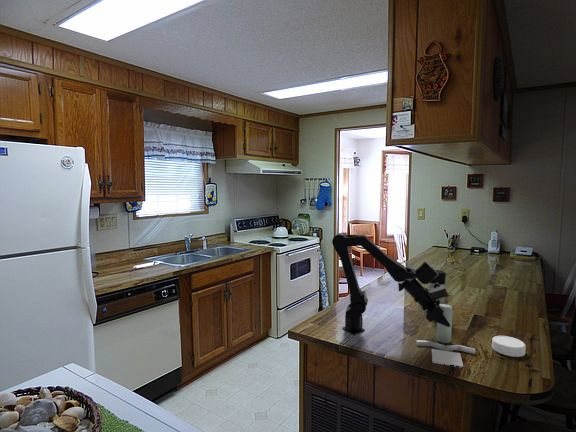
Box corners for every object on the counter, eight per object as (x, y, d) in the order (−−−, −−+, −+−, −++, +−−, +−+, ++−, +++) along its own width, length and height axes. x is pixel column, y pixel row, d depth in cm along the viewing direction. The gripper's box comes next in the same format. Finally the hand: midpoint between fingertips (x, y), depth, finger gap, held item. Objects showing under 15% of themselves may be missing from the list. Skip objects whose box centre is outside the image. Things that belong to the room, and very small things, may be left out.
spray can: (439, 312, 159) (441, 269, 157) (446, 318, 152) (448, 273, 150) (425, 312, 159) (426, 269, 157) (431, 318, 152) (433, 273, 150)
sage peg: (445, 344, 127) (447, 309, 126) (433, 339, 131) (434, 305, 130) (453, 341, 130) (455, 307, 129) (441, 336, 134) (442, 303, 133)
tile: (432, 362, 114) (432, 360, 114) (431, 350, 122) (431, 348, 122) (463, 367, 111) (463, 365, 111) (459, 354, 119) (460, 353, 119)
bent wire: (416, 347, 125) (416, 342, 125) (416, 342, 128) (416, 338, 128) (475, 356, 118) (476, 351, 118) (474, 351, 122) (474, 346, 122)
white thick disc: (520, 346, 126) (520, 337, 125) (529, 359, 116) (530, 349, 116) (488, 342, 129) (489, 333, 129) (495, 354, 120) (495, 345, 119)
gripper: (438, 285, 121) (471, 319, 118) (431, 272, 138) (460, 302, 136) (413, 305, 123) (445, 339, 121) (410, 290, 141) (438, 319, 139)
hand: (448, 323), depth 129 cm, fingers closed on sage peg, 5 cm apart
